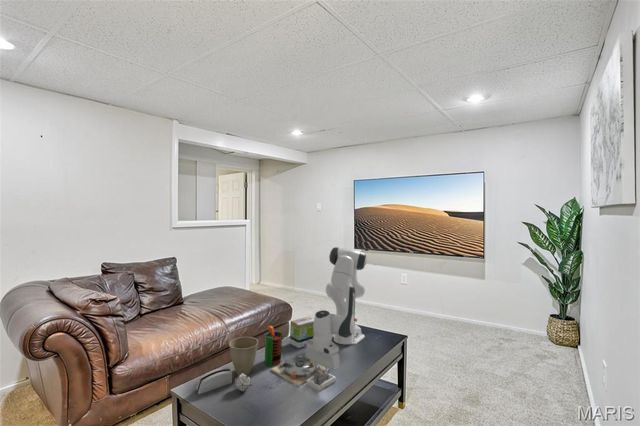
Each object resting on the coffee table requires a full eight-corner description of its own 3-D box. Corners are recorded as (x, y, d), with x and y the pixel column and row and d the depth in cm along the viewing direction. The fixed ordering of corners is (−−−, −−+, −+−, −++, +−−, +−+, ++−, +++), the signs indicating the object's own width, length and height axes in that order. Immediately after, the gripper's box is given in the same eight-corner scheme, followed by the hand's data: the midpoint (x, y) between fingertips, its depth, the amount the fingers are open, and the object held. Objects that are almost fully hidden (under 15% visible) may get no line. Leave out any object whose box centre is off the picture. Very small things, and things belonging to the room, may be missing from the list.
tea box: (299, 348, 203) (299, 325, 203) (289, 343, 211) (289, 320, 210) (317, 342, 213) (317, 319, 213) (307, 337, 221) (308, 315, 220)
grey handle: (227, 378, 168) (230, 362, 165) (231, 385, 164) (234, 369, 162) (194, 389, 157) (197, 373, 154) (198, 397, 154) (200, 380, 151)
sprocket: (324, 362, 184) (324, 349, 183) (312, 381, 163) (312, 367, 163) (288, 356, 190) (289, 344, 189) (273, 374, 169) (273, 361, 169)
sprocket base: (300, 357, 192) (300, 355, 192) (328, 370, 177) (328, 368, 177) (270, 370, 176) (270, 368, 176) (299, 386, 161) (299, 384, 161)
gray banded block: (313, 383, 163) (313, 374, 163) (323, 377, 168) (323, 369, 168) (319, 385, 161) (318, 376, 161) (328, 380, 166) (328, 371, 166)
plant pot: (222, 375, 171) (223, 344, 170) (241, 363, 184) (241, 334, 184) (245, 382, 164) (246, 350, 164) (263, 369, 177) (263, 340, 177)
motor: (277, 367, 180) (277, 331, 179) (261, 365, 182) (262, 329, 181) (283, 358, 190) (283, 324, 189) (268, 357, 192) (268, 323, 191)
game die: (246, 397, 158) (258, 383, 156) (231, 398, 152) (243, 383, 150) (241, 381, 164) (252, 367, 162) (227, 380, 158) (238, 366, 157)
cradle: (323, 375, 172) (323, 370, 172) (335, 381, 166) (335, 376, 166) (306, 384, 163) (306, 379, 163) (318, 391, 157) (318, 386, 157)
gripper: (302, 340, 169) (302, 367, 169) (333, 352, 155) (332, 381, 155) (311, 336, 173) (311, 362, 174) (341, 348, 159) (341, 376, 160)
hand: (321, 372), depth 164 cm, fingers open, 3 cm apart
